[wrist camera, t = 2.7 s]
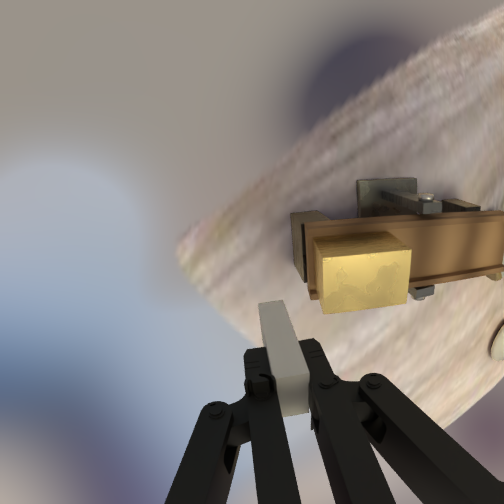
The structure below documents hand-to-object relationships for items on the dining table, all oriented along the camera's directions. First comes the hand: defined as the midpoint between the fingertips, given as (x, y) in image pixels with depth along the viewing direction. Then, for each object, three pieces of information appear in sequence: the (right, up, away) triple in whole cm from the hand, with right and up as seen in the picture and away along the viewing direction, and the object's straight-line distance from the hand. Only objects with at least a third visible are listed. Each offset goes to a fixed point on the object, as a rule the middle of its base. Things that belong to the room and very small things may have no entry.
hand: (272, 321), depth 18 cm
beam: (+16, +5, +8) cm, 18 cm away
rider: (+8, +4, +8) cm, 11 cm away
